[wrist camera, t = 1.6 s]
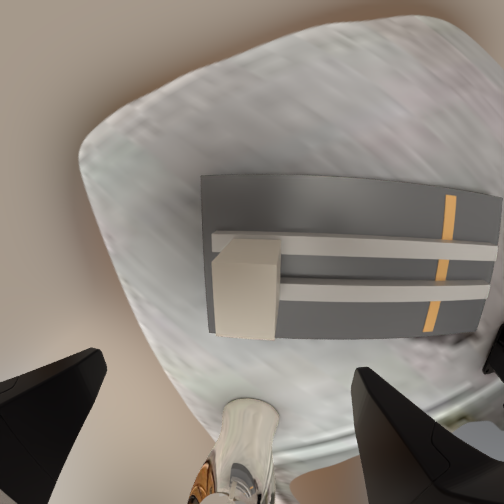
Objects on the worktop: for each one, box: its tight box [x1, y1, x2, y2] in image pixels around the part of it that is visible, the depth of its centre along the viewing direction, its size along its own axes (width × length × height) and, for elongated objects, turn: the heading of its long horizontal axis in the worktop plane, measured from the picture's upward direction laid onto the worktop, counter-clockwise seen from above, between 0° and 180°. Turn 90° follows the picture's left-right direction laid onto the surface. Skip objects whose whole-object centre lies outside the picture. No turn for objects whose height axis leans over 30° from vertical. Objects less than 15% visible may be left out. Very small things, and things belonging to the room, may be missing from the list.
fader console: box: [201, 174, 503, 339], centre depth 19 cm, size 24×12×3 cm, turn 90°
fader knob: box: [212, 239, 281, 340], centre depth 16 cm, size 3×4×6 cm
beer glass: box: [187, 398, 279, 504], centre depth 19 cm, size 7×7×15 cm
